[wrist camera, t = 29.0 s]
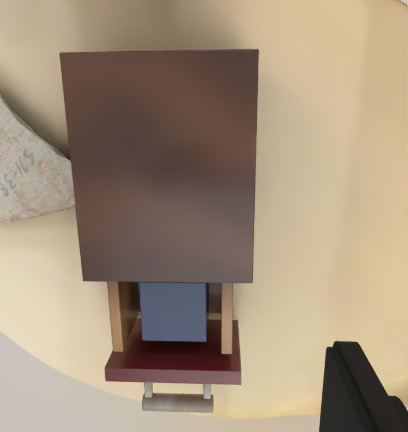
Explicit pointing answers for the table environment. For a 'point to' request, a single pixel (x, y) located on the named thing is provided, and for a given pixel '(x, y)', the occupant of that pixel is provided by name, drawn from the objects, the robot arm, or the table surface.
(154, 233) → the cabinet
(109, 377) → the drawer
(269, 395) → the table surface
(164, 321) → the block
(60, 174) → the stone
